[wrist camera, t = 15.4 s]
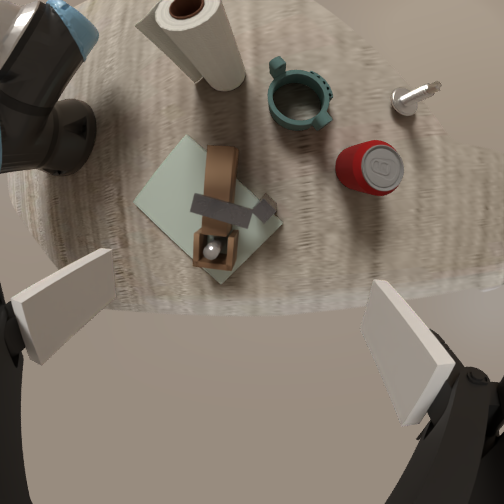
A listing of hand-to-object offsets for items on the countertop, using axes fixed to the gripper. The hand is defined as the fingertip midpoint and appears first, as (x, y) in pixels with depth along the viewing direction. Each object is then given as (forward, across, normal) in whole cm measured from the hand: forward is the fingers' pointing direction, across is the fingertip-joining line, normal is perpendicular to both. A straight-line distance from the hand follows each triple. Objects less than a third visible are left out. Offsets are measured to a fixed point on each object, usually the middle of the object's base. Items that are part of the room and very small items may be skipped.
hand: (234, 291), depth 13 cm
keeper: (+30, -4, +1) cm, 30 cm away
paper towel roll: (+30, -8, +21) cm, 38 cm away
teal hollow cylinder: (+30, +4, +17) cm, 35 cm away
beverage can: (+30, +13, +8) cm, 34 cm away
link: (+29, -6, 0) cm, 29 cm away
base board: (+30, -9, -1) cm, 31 cm away
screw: (+30, +20, +20) cm, 42 cm away
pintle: (+29, -6, -5) cm, 30 cm away
